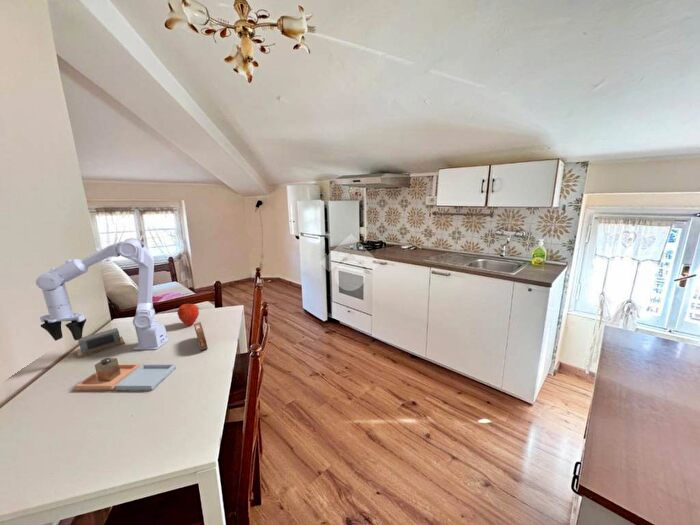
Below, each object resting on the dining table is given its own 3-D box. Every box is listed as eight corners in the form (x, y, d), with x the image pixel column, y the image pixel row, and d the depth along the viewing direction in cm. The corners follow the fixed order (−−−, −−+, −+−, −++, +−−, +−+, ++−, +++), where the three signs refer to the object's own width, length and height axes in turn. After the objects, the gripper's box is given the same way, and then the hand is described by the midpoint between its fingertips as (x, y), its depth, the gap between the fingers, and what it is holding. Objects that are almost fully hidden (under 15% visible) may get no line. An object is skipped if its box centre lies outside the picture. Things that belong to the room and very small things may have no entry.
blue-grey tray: (176, 368, 97) (175, 363, 97) (152, 390, 86) (151, 385, 86) (144, 368, 98) (143, 363, 98) (116, 390, 87) (115, 385, 86)
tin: (208, 351, 108) (205, 332, 106) (199, 354, 106) (196, 334, 104) (204, 336, 120) (201, 318, 118) (196, 338, 119) (193, 320, 117)
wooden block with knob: (120, 373, 94) (116, 356, 93) (110, 381, 90) (105, 363, 89) (109, 373, 94) (105, 356, 93) (98, 381, 90) (93, 363, 89)
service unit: (125, 343, 115) (121, 330, 114) (79, 358, 106) (75, 344, 104) (122, 338, 120) (119, 325, 119) (77, 351, 110) (74, 338, 109)
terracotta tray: (140, 368, 98) (139, 363, 98) (112, 390, 87) (110, 385, 86) (109, 368, 98) (108, 364, 98) (77, 390, 87) (75, 385, 87)
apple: (203, 320, 136) (200, 300, 133) (195, 328, 127) (191, 307, 125) (185, 321, 135) (182, 301, 133) (176, 329, 127) (172, 307, 125)
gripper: (26, 309, 94) (37, 344, 97) (66, 308, 94) (76, 344, 97) (48, 301, 101) (58, 335, 104) (86, 301, 101) (95, 334, 104)
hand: (68, 339), depth 101 cm, fingers open, 7 cm apart
